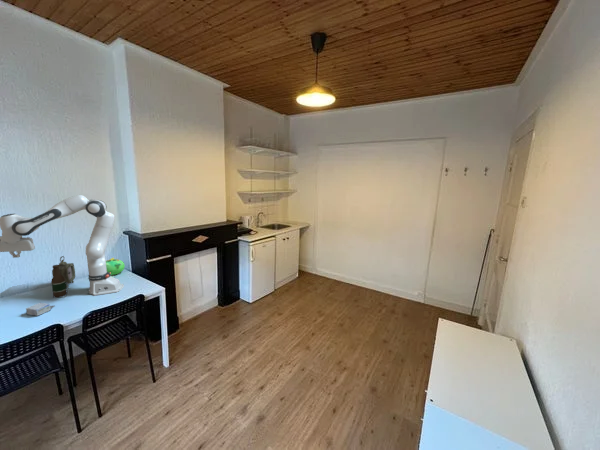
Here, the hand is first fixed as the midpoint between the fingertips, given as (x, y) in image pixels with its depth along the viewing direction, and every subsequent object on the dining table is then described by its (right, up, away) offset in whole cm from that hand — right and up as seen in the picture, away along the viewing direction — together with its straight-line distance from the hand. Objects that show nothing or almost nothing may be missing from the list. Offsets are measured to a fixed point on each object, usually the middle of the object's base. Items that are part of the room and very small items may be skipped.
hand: (16, 257), depth 174 cm
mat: (+21, -35, -2) cm, 41 cm away
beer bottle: (+14, -31, +17) cm, 38 cm away
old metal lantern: (+4, -28, +32) cm, 43 cm away
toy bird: (+24, -23, +57) cm, 66 cm away
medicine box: (+17, -33, -5) cm, 38 cm away
